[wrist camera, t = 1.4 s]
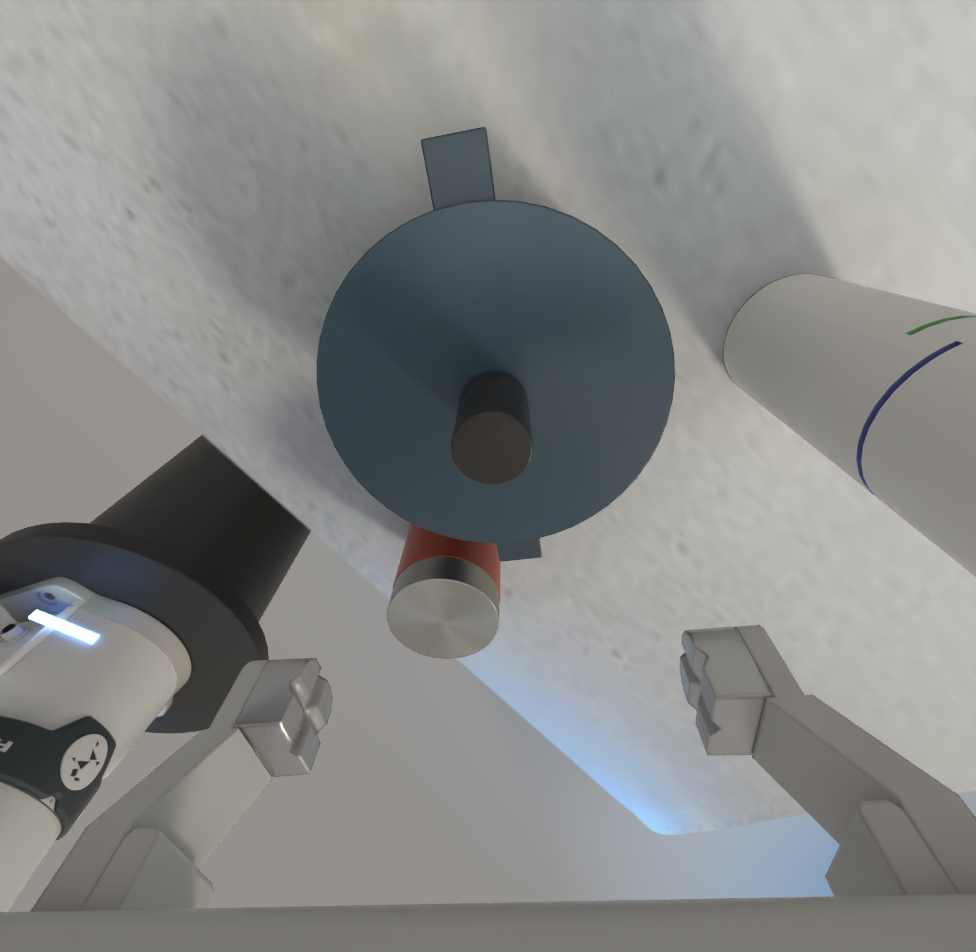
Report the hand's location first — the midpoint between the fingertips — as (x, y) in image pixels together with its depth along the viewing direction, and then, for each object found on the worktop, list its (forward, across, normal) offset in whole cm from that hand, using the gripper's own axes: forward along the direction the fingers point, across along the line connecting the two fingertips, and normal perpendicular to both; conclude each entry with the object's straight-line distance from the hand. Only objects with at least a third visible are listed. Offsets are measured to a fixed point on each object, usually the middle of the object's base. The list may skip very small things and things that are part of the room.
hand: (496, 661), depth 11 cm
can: (+22, -5, -12) cm, 25 cm away
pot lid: (+13, 0, +1) cm, 13 cm away
